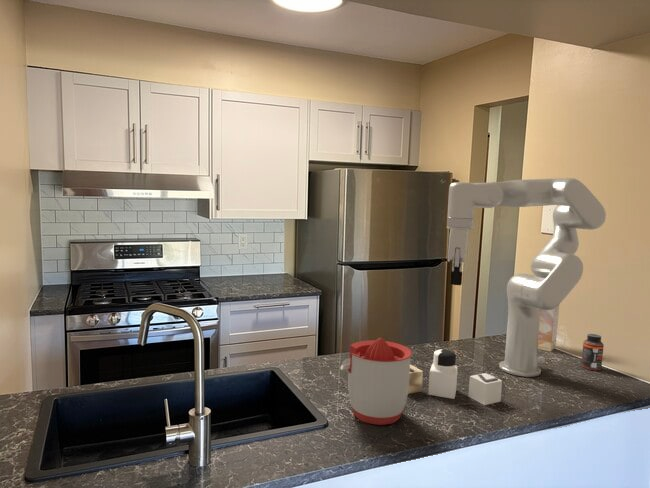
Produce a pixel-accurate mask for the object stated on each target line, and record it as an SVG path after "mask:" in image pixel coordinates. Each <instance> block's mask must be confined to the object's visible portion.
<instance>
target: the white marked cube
mask: <svg viewBox="0 0 650 488" xmlns="http://www.w3.org/2000/svg"><path fill="white" fill-rule="evenodd" d="M468 383H469V384H468V397H469V398H470V399H472V400H474V401H475V402H478V403H479V404H481V405H483V406H487V405H492V404H495V403H499V402H501V401H502V400H501V399H502V390H503V389H502V388H503V387H502V386H503V380H502V379H499V378H497V377H495V376H494V375H490V374H488V373H487V372H485V373H484V372H483V373H478V374H472V375H469V382H468Z"/></svg>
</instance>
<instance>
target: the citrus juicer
mask: <svg viewBox="0 0 650 488" xmlns="http://www.w3.org/2000/svg"><path fill="white" fill-rule="evenodd" d="M349 347H350V348H349V350H350V351H349V358H346V359H344V360H342V363H341V365H340V371H345V370H347V371H348V375H347V376H348V377H347V382H348V383H347V386H348V387H347V389H348V396H349V400H350V407H351V408H352V409H351V410H352V413H353V415H354V416H355V417H356V418H357V419H358V420H360V421H361V422H363V423H367V424H371V425H377V426H378V425H379V426H380V425H382V426H383V425H389V424H394V423H395V422H397V421H399V419H400V418H401V416H402V414H403V413H404V409H405V406H406V403H407V399H408V395H409V394H408V389H409V373H410V365H411V357H412V355H413V354H412V350H411V349H410V348H409V347H407V346H405V345H403V344H400V343H396V342H393V341H387V340H385V339H384V338H383V337H379V338H377V339H375V340H361V341H356V342H353V343H352V344H350V346H349Z"/></svg>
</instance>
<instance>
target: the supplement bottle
mask: <svg viewBox="0 0 650 488" xmlns="http://www.w3.org/2000/svg"><path fill="white" fill-rule="evenodd" d="M586 338H587V339H585V340H584V341H583V344H582V351H581V352H582V355H581V367H582V368H584V369H586V370H590V371H594V372H595V371H597V372H598V371H600V370H602V364H603V356H604V348H605V347H604V346H605V345H604V343H603V342H602V336H601V334H596V333H587V336H586Z"/></svg>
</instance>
